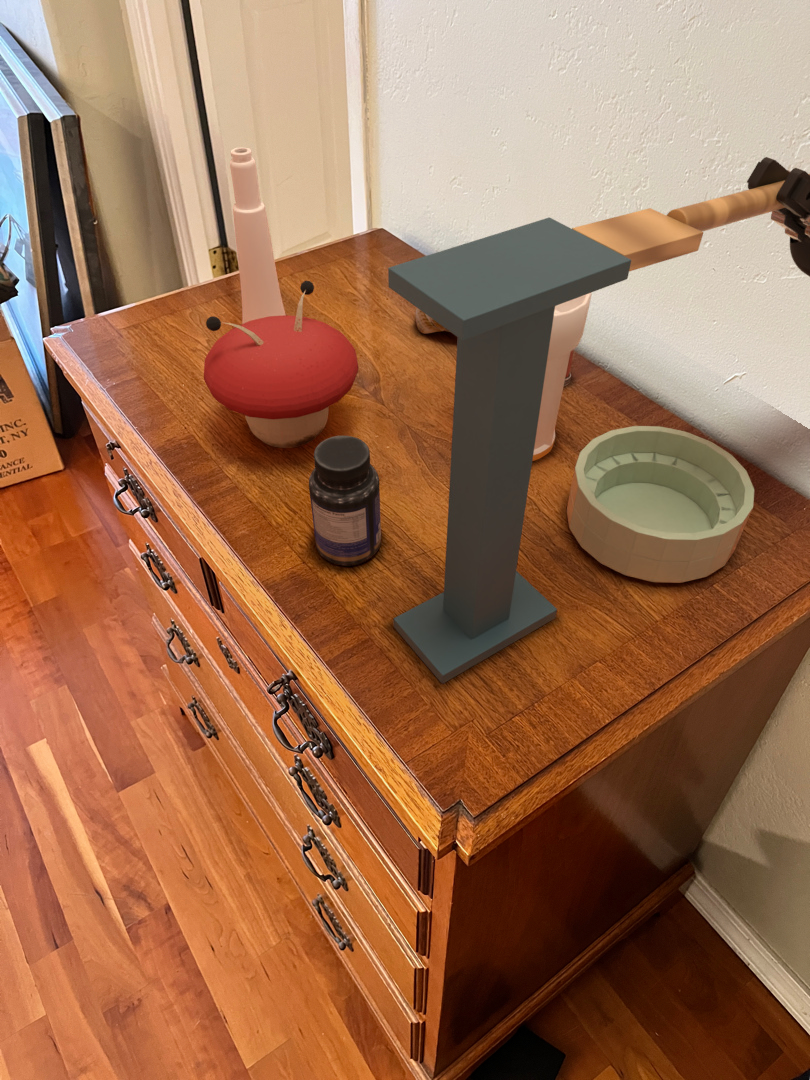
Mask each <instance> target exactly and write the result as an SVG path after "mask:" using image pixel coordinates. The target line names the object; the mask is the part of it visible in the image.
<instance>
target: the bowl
mask: <svg viewBox="0 0 810 1080" xmlns="http://www.w3.org/2000/svg"><path fill="white" fill-rule="evenodd" d="M754 502H755V487H754V485H753V483H752V480H751V478H750V476H749V474H748V471H747V469H745V468H744V466H743V465H742V464H741V463H740V462H739V461H738V460H737V459H736V458H735V457H734V456H733V455H732V454H731V453H729V452H728V451H727V450H725V449H723V448H722V447H720V446H719V445H717V444H716V443H714V442H712V441H710V440H708V439H705V438H703V437H700V436H698V435H695V434H693V433H690V432H688V431H685V430H679V429H676V428H670V427H666V426H665V427H664V426H659V425H632V426H627V427H622V428H615V429H612V430H609V431H607V432H604V433H603V434H601V435H598V436H596V437H594V438H592V439H591V440H590V442H588V443H587V445H585V447H584V448H583V449H581V450H580V452H579V453H578V457H577V460H576V463H575V466H574V471H573V475H572V481H571V486H570V490H569V496H568V500H567V506H566V516H567V521H568V528H569V530H570V532H571V533H572V535H573V536H574V539H576V541H577V543H578V544H579V546H580V547H581V548H582V549H583V550H584V551H585V552H587V553H588V554H589V555H590V556H591V557H592V558H594V559H595V560H596V561H597V562H598V563H600V564H602V565H603V566H605V567H607V568H609V569H611V570H613V571H615V572H617V573H619V574H622V575H623V576H627V577H631V578H635V579H639V580H643V581H647V582H650V583H669V584H670V583H672V584H673V583H675V584H676V583H677V584H681V583H685V582H686V583H687V582H690V581H694V580H699V579H702V578H706V577H708V576H710V575H712V574H714V573H715V572H717V571H718V570H720V569H721V568H723V567H725V566H726V564H727V563H728V561H729V560H730V558H732V555H733V554H734V552H735V551H736V549H737V546H738V544H739V541H740V539H741V537H742V534H743V532H744V530H745V528H746V525H747V523H748V520H749V518H750V516H751V513H752V511H753V509H754V504H755V503H754Z"/></svg>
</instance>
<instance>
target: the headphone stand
mask: <svg viewBox="0 0 810 1080" xmlns="http://www.w3.org/2000/svg"><path fill="white" fill-rule="evenodd" d="M630 265H631V259H629V258H627V257H625V256H623V255H621V254H619V253H617V252H615V251H613V250H612V249H610V248H608V247H606V246H604V245H602V244H600V243H598V242H596V241H594V240H592V239H590V238H588V237H586V236H585V235H583V234H581V233H579V232H577V231H575V230H573V229H572V227H569V226H567V225H565V224H563V223H561V222H559V221H557V220H556V219H554V218H552V217H546V218H543V219H540V220H536V221H533V222H530V223H527V224H524V225H521V226H517V227H514V228H511V229H508V230H505V231H501V232H498V233H495V234H491V235H489V236H485V237H482V238H479V239H475V240H472V241H469V242H466V243H463V244H459V245H457V246H453V247H450V248H447V249H444V250H441V251H438V252H433V253H431V254H428V255H424V256H421V257H417V258H415V259H411V260H409V261H405V262H402V263H399V264H396V265H392V266H390V267H388V268H387V271H388V272H387V273H388V274H387V275H388V277H387V278H388V281H387V283H388V288H389V289H390V290H392V291H393V292H395V294H397V295H399V296H400V297H401V298H403V299H404V300H406V301H407V302H408V303H409V304H411V305H412V306H414V307H415V308H416V309H417V308H418V309H420V310H421V311H422V312H424V313H425V314H426V315H428V316H429V317H431V318H432V319H433V320H435V321H436V322H437V323H439V324H440V325H442V326H443V327H444V328H446V329H447V330H449V331H450V332H449V333H451V334H452V335H454V336H455V337H457V339H456V340H457V341H456V356H455V357H456V359H455V378H454V397H453V413H452V414H453V415H452V430H451V431H452V432H451V450H450V452H451V454H450V467H449V469H450V471H449V489H448V490H449V492H448V508H447V525H446V542H445V543H446V544H445V545H446V546H445V560H444V561H445V563H444V565H445V566H444V583H443V591H442V592H441V593H439V594H437V595H435V596H433V597H431V598H429V599H428V600H426V601H424V602H422V603H420V604H418V605H415V606H414V607H412V608H410V609H408V610H407V611H405V612H403V613H401V614H399V615H397V616H395V617H394V618H393V628H394V629H395V630H396V632H397V633H398V634H399V635H400V637H402V639H403V640H404V641H405V642H406V643H407V645H408V646H409V647H410V648H411V649H412V650H413V652H414V653H415V655H417V656H418V658H419V659H420V660H421V661H422V662H423V663H424V665H425V666H426V667H427V669H429V671H430V672H431V673H432V674H433V676H435V677H436V679H437V680H438V681H439V683H440V684H441V685H443V684H445V683H447V682H449V681H450V680H452V679H454V678H455V677H457V676H458V675H461V674H462V673H464V672H465V671H467V670H469V669H471V668H472V667H474V666H476V665H478V664H480V663H482V662H483V661H484V660H486V659H488V658H490V657H492V656H494V655H495V654H497V653H498V652H500V651H502V650H504V649H505V648H507V647H508V646H510V645H512V644H513V643H515V642H517V641H519V640H521V639H522V638H524V637H525V636H527V635H529V634H531V633H533V632H534V631H536V630H539V628H542V627H543V626H544V625H546V624H548V623H550V622H552V621H554V620H555V619H557V618H556V617H557V612H558V608H557V607H556V606H555V605H553V603H551V602H550V601H549V600H548V599H547V598H546V597H545V596H544V595H543V594H542V593H541V592H540V591H538V589H536V588H535V587H534V586H533V585H532V584H531V583H530V582H529V581H528V580H527V579H526V578H525V577H523V575H521V573H520V572H519V571H517V567H518V561H519V556H520V555H519V554H520V547H521V542H522V541H521V540H522V534H523V527H524V521H525V514H526V507H527V501H528V493H529V486H530V479H531V474H532V473H531V472H532V467H533V466H532V465H533V461H532V460H533V453H534V446H535V440H536V433H537V426H538V419H539V412H540V406H541V399H542V392H543V385H544V378H545V372H546V365H547V358H548V351H549V344H550V338H551V331H552V324H553V317H554V311H555V306H557V305H559V304H562V303H565V302H567V301H570V300H573V299H575V298H578V297H581V296H583V295H586V294H589V293H594V292H597V291H599V290H603V289H605V288H607V287H610V286H613V285H615V284H618V283H621V282H624V281H627V280H628V278H629V273H630V271H629V269H630Z"/></svg>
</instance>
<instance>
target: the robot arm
mask: <svg viewBox="0 0 810 1080" xmlns="http://www.w3.org/2000/svg"><path fill="white" fill-rule="evenodd" d="M809 174H810V173H808V172H807V171H806V170H804V169H801V168H798V167H794V168H792V169H791V170H788V169H786V168H785V167H784V166H783V165H782V164H781V163H779V161H778V160H776V159H773V158H770V157H768V156H764V157H763V158H762V159H761V160H760V161H758V162H757V164H756V165H755V167H754V169H753V170H752V172H751V174H750V175H749V177H748V179H747V180H746V183H747V190H749V189H753V188H757V187H761V186H765V185H768V184H772V183H776V182H780V181H784V180H785V181H784V183H783V185H782V186H781V188H780V190H779V191H778V193H777V196H776V200H777V201H778V202H780V203H781V204H782V205H783V206H785V207H786V208H783V209H779V210H776V211H772V212H771V215H770V220H771V221H773V222H774V223H775V224H776V225H779V226H780V227H781V228H783V229H784V234H785V235H787V236H788V237H789V251H790V256H791V258H792V261H793V263H794V264H795V266H796V267H797V268H798V269H799V271H801V272H802V273H803V274H805V275H806V276H808V277H809V278H810V175H809Z"/></svg>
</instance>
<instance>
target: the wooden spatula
mask: <svg viewBox="0 0 810 1080" xmlns="http://www.w3.org/2000/svg"><path fill="white" fill-rule="evenodd" d="M808 174H809V175H810V173H808ZM784 181H785V180H784ZM784 181H780V182H776V183H772V184H768V185H765V186H761V187H757V188H753V189H746V190H741V191H738V192H734V193H731V194H727V195H722V196H719V197H716V198H712V199H708V200H704V201H700V202H696V203H693V204H689V205H685V206H682V207H677V208H674V209H671V210H670V211H668V212H667V214H664V213H661V212H660V211H658V210H655V209H653V208H651V207H649V208H645V209H641V210H638V211H634V212H629V213H626V214H625V213H624V214H621V215H618V216H614V217H610V218H605V219H602V220H598V221H595V222H590V223H587V224H582V225H578V226H575V227H571V229H573V230H575V231H577V232H579V233H581V234H583V235H585V236H586V237H588V238H590V239H592V240H594V241H596V242H598V243H600V244H602V245H604V246H606V247H608V248H610V249H612V250H613V251H615V252H617V253H619V254H621V255H623V256H625V257H627V258H629V259H631V265H630V269H629V272H633V271H636V270H640V269H642V268H646V267H649V266H653V265H656V264H658V263H662V262H665V261H669V260H672V259H675V258H678V257H682V256H685V255H689V254H692V253H695V252H698V251H699V249H700V246H701V242H702V239H703V236H704V232H706V231H709V230H712V229H716V228H717V229H718V228H721V227H723V226H727V225H730V224H734V223H737V222H740V221H744V220H748V219H751V218H754V217H758V216H761V215H765V214H768V213H769V214H770V213H772V211H776V210H779V209H783V208H786V207H785V206H783V205H782V204H781V203H780V202H778V201H777V200H776V196H777V193H778V191H779V190H780V188H781V186H782V185H783V183H784Z"/></svg>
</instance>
